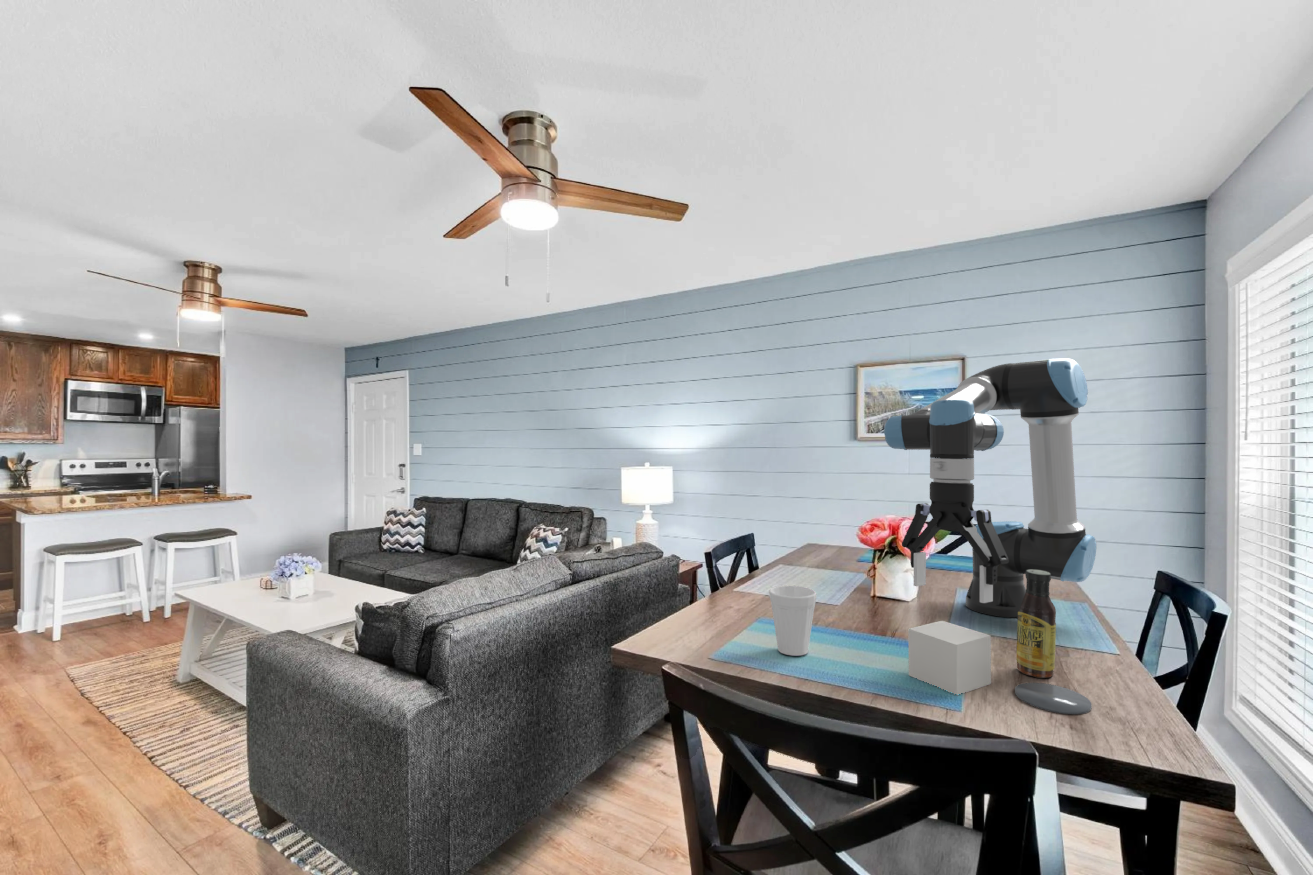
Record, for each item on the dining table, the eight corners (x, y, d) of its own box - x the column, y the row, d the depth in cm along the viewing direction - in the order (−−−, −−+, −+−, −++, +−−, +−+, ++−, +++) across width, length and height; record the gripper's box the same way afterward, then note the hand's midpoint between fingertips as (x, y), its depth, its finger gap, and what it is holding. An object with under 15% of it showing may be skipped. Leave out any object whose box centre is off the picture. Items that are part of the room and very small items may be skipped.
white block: (942, 665, 116) (941, 620, 116) (991, 683, 107) (990, 635, 107) (908, 675, 111) (908, 628, 111) (957, 695, 103) (956, 644, 103)
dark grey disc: (1036, 681, 108) (1036, 677, 108) (1104, 704, 99) (1104, 701, 99) (1001, 693, 103) (1001, 690, 103) (1069, 720, 93) (1069, 716, 93)
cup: (759, 648, 126) (759, 588, 126) (795, 640, 131) (794, 583, 131) (790, 664, 117) (789, 599, 117) (827, 655, 122) (826, 593, 122)
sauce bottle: (1008, 669, 114) (1008, 568, 114) (1031, 664, 116) (1030, 566, 116) (1041, 682, 108) (1040, 576, 108) (1064, 677, 110) (1063, 573, 110)
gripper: (883, 477, 119) (883, 581, 119) (1006, 485, 97) (1005, 612, 97) (908, 477, 123) (907, 577, 122) (1031, 484, 101) (1031, 607, 100)
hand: (951, 593), depth 110 cm, fingers open, 13 cm apart
